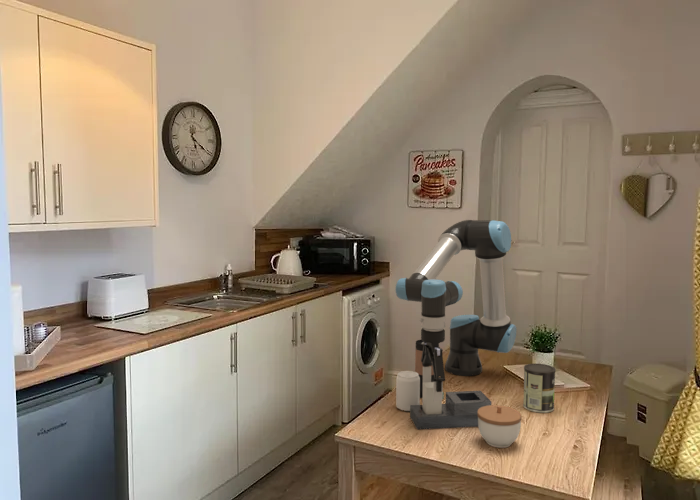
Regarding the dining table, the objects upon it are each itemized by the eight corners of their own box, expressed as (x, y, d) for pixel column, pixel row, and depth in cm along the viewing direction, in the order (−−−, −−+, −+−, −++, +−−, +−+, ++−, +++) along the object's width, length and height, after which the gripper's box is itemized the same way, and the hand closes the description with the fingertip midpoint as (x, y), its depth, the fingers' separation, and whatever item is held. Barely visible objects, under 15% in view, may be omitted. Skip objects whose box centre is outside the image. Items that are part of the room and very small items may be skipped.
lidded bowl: (468, 442, 165) (469, 406, 164) (491, 429, 173) (491, 395, 172) (506, 456, 156) (507, 418, 155) (528, 442, 164) (529, 406, 163)
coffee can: (551, 402, 196) (553, 364, 194) (556, 414, 186) (557, 373, 184) (521, 400, 198) (522, 362, 196) (524, 411, 188) (525, 371, 186)
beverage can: (421, 404, 194) (421, 371, 193) (417, 413, 186) (418, 378, 185) (398, 402, 196) (398, 369, 195) (394, 410, 189) (394, 376, 187)
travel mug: (413, 397, 200) (414, 344, 198) (416, 390, 208) (416, 338, 206) (434, 399, 199) (435, 345, 197) (436, 392, 206) (437, 339, 204)
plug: (422, 415, 181) (422, 382, 180) (440, 414, 182) (440, 381, 181) (426, 421, 176) (426, 387, 175) (444, 420, 177) (445, 387, 176)
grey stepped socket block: (410, 416, 183) (410, 393, 183) (480, 413, 186) (480, 390, 185) (417, 429, 173) (417, 405, 173) (490, 425, 176) (491, 401, 175)
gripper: (412, 320, 188) (411, 380, 190) (431, 339, 163) (430, 408, 165) (434, 319, 189) (433, 379, 191) (456, 338, 164) (455, 407, 166)
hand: (432, 393), depth 178 cm, fingers open, 13 cm apart
